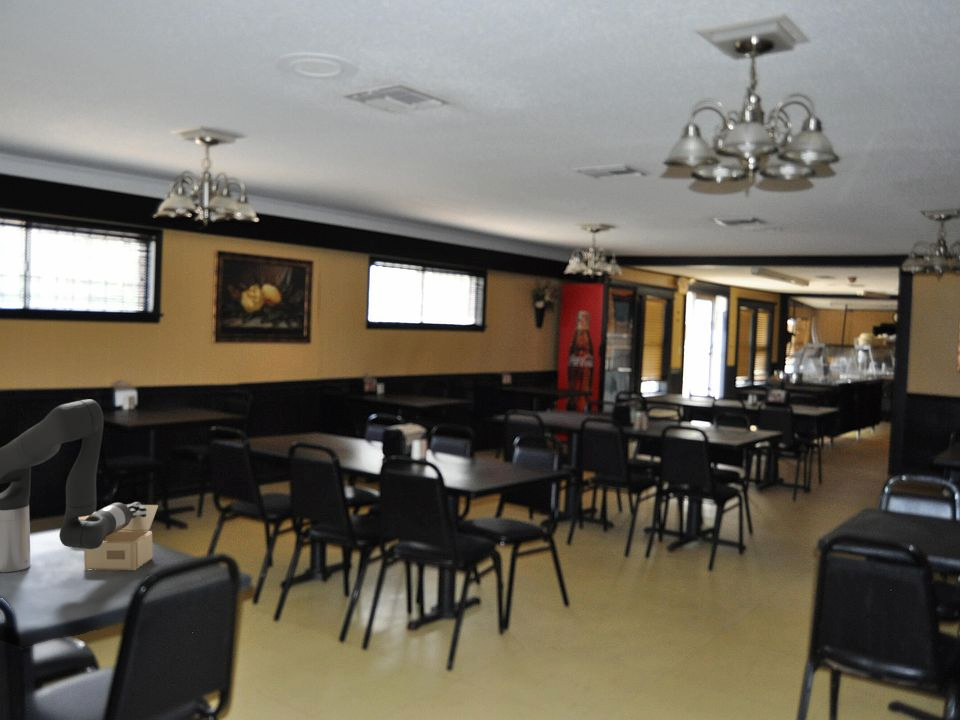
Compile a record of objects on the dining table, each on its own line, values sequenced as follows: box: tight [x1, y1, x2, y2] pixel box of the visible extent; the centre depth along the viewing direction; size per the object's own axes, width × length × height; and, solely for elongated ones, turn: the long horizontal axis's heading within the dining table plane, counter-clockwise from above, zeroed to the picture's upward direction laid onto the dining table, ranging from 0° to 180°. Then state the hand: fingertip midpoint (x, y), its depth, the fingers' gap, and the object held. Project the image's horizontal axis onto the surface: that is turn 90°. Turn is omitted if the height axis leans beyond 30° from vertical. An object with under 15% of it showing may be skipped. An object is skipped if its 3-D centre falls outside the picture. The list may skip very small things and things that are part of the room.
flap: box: [120, 504, 159, 531], centre depth 253 cm, size 12×1×9 cm
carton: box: [83, 530, 153, 571], centre depth 243 cm, size 15×13×8 cm
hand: (137, 505), depth 255 cm, fingers closed
